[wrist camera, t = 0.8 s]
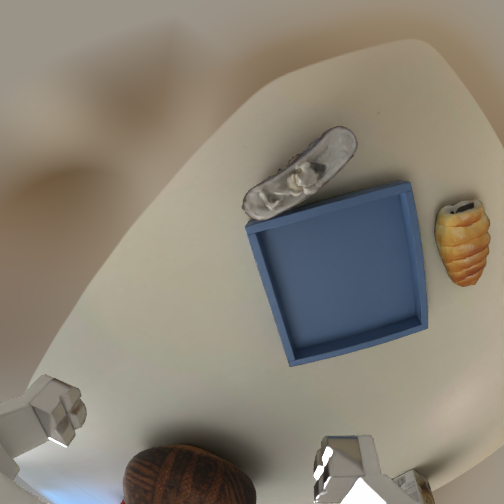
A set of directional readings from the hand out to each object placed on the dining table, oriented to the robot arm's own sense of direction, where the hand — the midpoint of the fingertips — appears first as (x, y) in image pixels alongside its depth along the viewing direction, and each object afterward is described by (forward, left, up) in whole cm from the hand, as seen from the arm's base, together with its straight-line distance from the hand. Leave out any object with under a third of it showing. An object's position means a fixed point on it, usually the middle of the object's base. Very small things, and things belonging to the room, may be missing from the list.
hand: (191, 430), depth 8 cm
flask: (-5, +6, -23) cm, 24 cm away
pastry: (+5, +21, -23) cm, 32 cm away
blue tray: (+6, +8, -23) cm, 25 cm away
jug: (+35, -21, -23) cm, 47 cm away
